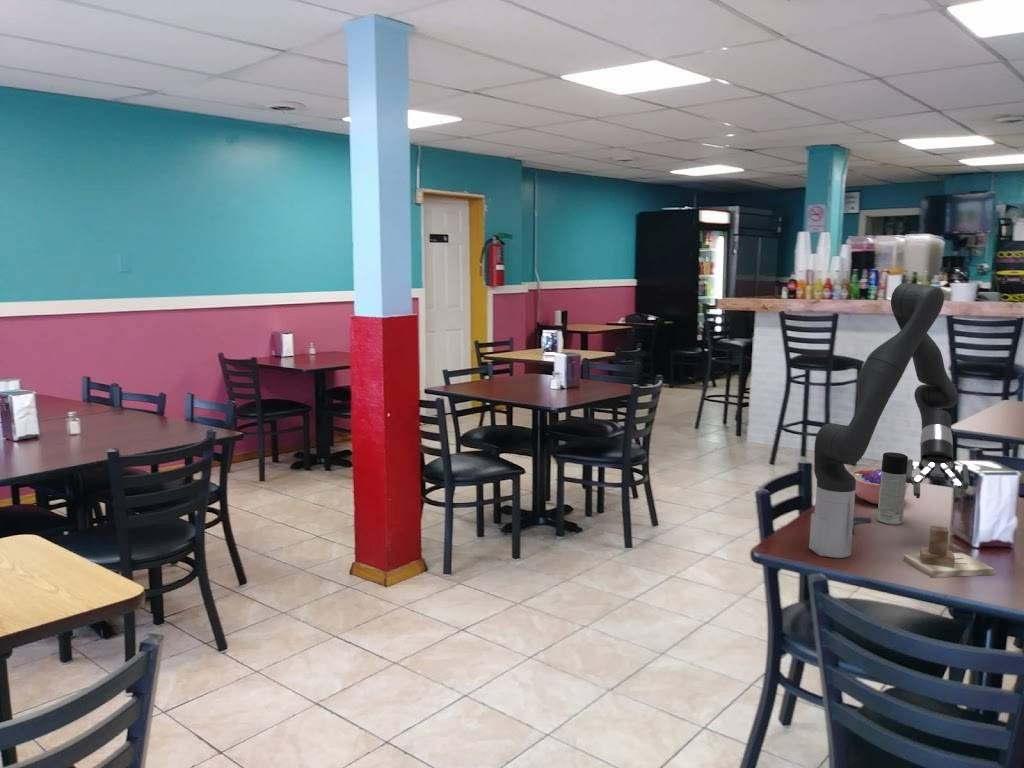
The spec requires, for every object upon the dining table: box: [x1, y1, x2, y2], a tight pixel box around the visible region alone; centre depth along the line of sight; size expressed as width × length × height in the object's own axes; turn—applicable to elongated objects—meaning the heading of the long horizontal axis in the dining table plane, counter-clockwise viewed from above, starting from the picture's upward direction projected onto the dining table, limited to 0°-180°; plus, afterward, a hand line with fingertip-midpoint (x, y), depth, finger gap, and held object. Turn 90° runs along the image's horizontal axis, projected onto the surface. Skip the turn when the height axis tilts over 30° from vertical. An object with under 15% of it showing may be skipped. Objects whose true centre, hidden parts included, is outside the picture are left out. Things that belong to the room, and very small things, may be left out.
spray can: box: [877, 451, 909, 526], centre depth 226 cm, size 7×7×20 cm
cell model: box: [850, 468, 910, 505], centre depth 246 cm, size 17×20×11 cm
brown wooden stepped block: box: [919, 525, 955, 568], centre depth 191 cm, size 7×5×8 cm
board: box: [902, 552, 995, 578], centre depth 192 cm, size 16×11×2 cm
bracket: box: [852, 516, 872, 536], centre depth 223 cm, size 14×15×3 cm
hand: (937, 498), depth 199 cm, fingers open, 8 cm apart
